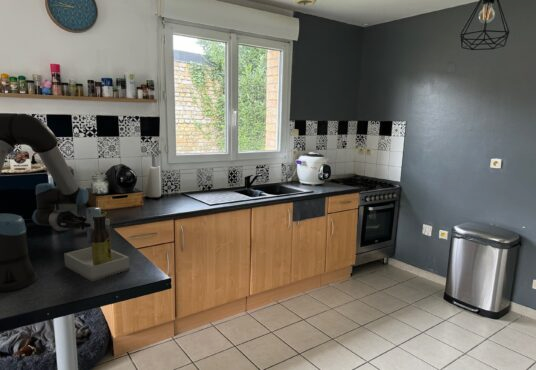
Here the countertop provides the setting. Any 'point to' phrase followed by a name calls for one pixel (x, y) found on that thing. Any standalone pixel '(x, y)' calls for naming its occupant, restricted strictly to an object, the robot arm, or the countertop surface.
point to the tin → (91, 220)
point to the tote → (84, 265)
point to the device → (68, 206)
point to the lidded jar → (60, 229)
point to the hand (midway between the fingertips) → (103, 223)
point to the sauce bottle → (100, 241)
